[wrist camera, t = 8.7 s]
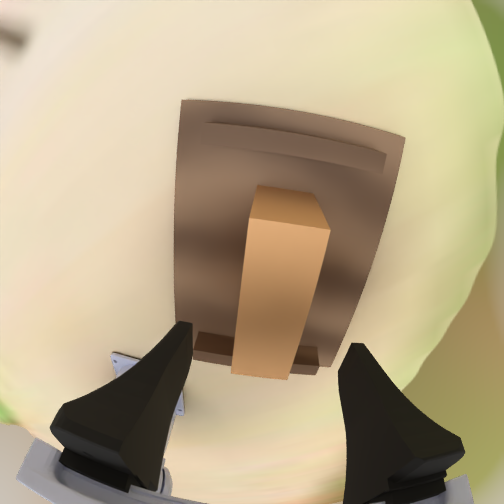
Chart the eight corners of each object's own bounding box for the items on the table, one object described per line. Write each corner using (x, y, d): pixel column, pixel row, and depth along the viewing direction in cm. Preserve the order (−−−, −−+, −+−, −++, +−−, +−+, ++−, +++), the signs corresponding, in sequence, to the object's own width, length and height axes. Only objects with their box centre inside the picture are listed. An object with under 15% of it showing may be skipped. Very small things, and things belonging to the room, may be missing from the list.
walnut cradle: (329, 360, 25) (333, 385, 22) (179, 340, 25) (170, 364, 22) (400, 136, 16) (421, 141, 13) (185, 100, 16) (169, 98, 13)
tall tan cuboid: (285, 319, 22) (286, 380, 16) (240, 313, 22) (230, 373, 17) (313, 193, 17) (330, 229, 12) (257, 184, 17) (249, 217, 12)
